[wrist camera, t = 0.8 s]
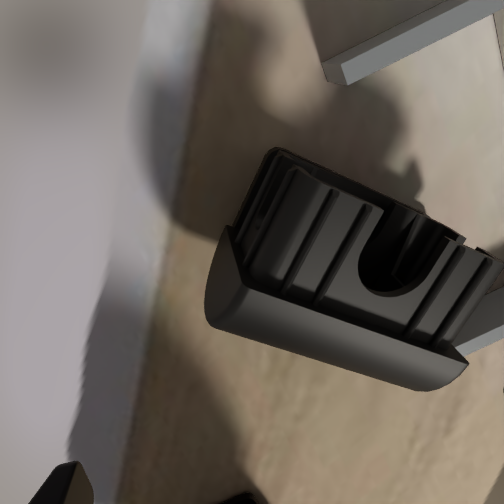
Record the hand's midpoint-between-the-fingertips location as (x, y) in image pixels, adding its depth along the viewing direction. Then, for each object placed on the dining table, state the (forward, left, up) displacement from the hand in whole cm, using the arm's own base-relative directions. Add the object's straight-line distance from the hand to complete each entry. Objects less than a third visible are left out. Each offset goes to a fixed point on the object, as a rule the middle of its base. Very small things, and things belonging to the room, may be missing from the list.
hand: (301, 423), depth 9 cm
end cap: (+3, -3, -13) cm, 14 cm away
